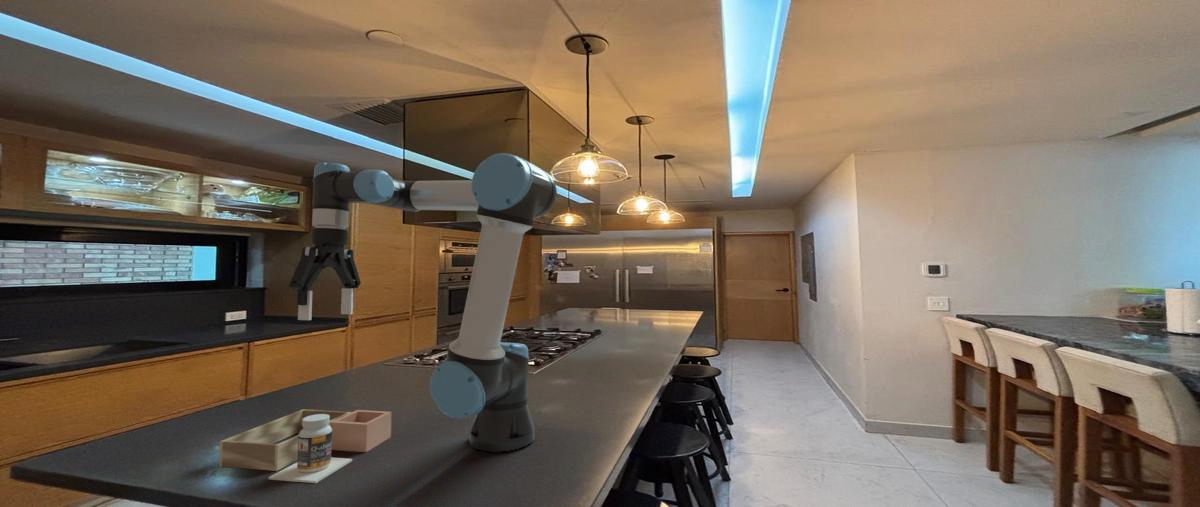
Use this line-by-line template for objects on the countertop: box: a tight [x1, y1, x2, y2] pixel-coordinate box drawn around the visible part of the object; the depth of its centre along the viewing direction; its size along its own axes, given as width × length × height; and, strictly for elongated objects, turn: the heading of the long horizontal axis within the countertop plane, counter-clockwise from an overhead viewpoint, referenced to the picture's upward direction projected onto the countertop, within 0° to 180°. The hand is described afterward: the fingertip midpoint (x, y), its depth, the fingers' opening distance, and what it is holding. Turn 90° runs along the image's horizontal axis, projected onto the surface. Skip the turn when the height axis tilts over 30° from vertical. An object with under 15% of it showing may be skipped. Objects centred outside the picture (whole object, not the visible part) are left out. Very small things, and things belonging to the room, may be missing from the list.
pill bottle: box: [296, 414, 332, 473], centre depth 89 cm, size 6×6×10 cm
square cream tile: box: [267, 456, 353, 484], centre depth 89 cm, size 10×10×1 cm
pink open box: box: [330, 409, 393, 453], centre depth 103 cm, size 9×9×6 cm
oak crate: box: [218, 408, 352, 472], centre depth 100 cm, size 21×13×5 cm, turn 172°
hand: (327, 317), depth 106 cm, fingers open, 13 cm apart
